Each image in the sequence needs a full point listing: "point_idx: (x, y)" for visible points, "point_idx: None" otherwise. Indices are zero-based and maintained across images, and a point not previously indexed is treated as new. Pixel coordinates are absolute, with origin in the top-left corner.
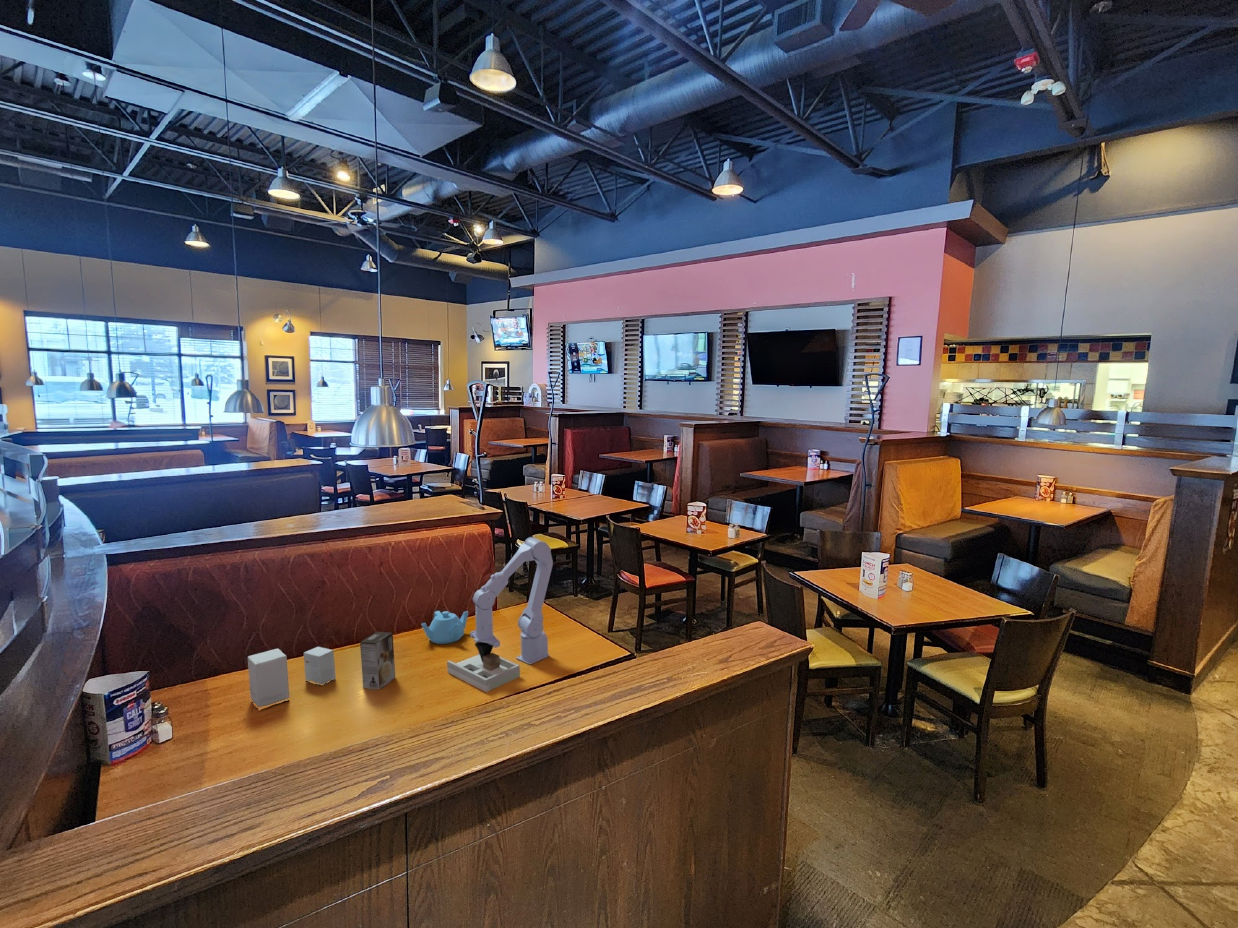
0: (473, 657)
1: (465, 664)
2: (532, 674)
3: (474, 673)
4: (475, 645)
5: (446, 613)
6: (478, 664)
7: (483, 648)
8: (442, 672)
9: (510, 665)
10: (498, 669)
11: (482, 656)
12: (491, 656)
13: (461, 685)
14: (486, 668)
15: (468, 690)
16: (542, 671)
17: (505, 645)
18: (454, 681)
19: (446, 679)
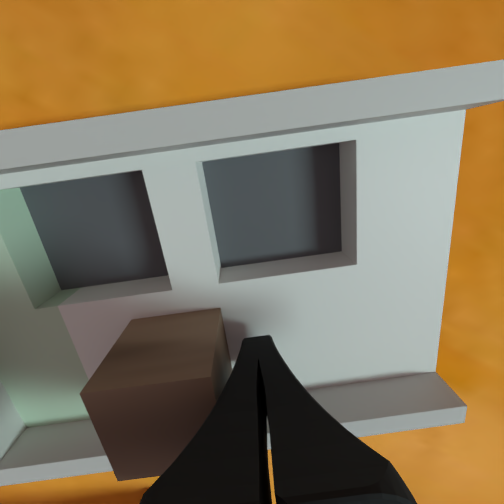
0: (425, 328)
1: (372, 231)
2: None
3: (1, 153)
4: (373, 458)
5: None
6: (293, 304)
7: (143, 499)
8: (465, 55)
9: (64, 444)
10: None
11: (245, 372)
12: (147, 430)
13: (135, 64)
14: (178, 315)
15: (12, 65)
16: (40, 497)
17: (433, 496)
18: (242, 53)
19: (325, 13)
